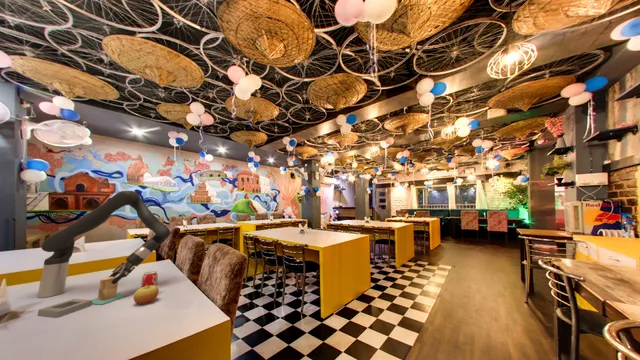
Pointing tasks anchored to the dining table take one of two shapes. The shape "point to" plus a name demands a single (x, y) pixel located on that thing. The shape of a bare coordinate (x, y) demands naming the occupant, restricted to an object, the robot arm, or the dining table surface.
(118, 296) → the teal mat
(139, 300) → the apple
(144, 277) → the soda can
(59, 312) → the frame
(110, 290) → the oak block
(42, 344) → the dining table surface
